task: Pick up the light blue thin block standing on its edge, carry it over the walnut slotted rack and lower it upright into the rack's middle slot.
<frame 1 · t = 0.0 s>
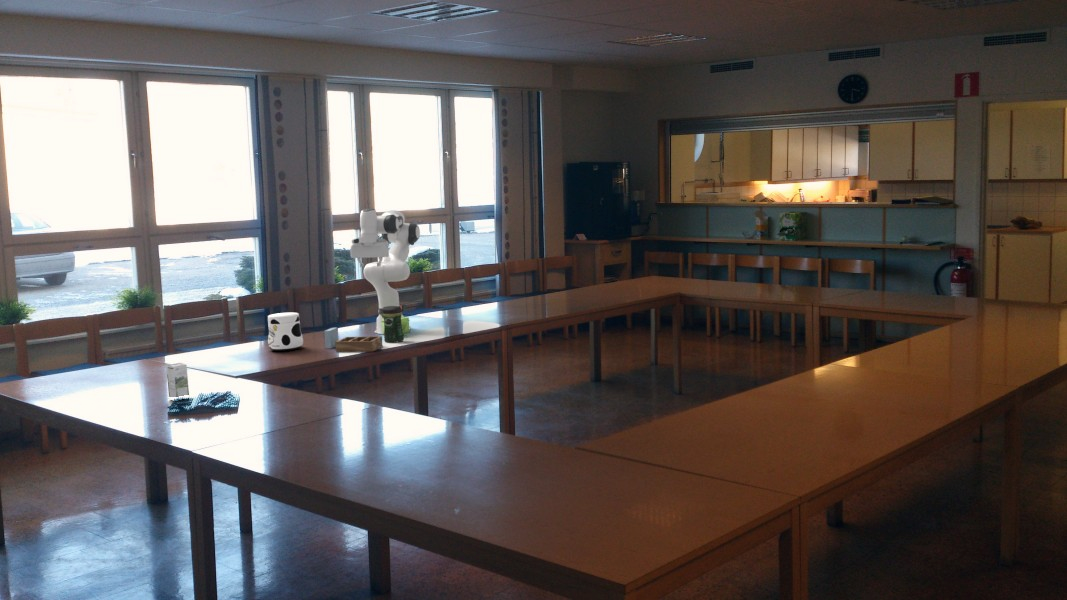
hand: (370, 266, 493), 39 cm above the table, tool pointing down, fingers open, 8 cm apart
syrup box: (179, 400, 380), on the table
coffee jar: (394, 341, 491), on the table
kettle: (395, 336, 508), on the table
milk container: (286, 350, 484), on the table
light blue thin block: (332, 346, 486), on the table
rack: (359, 349, 474), on the table
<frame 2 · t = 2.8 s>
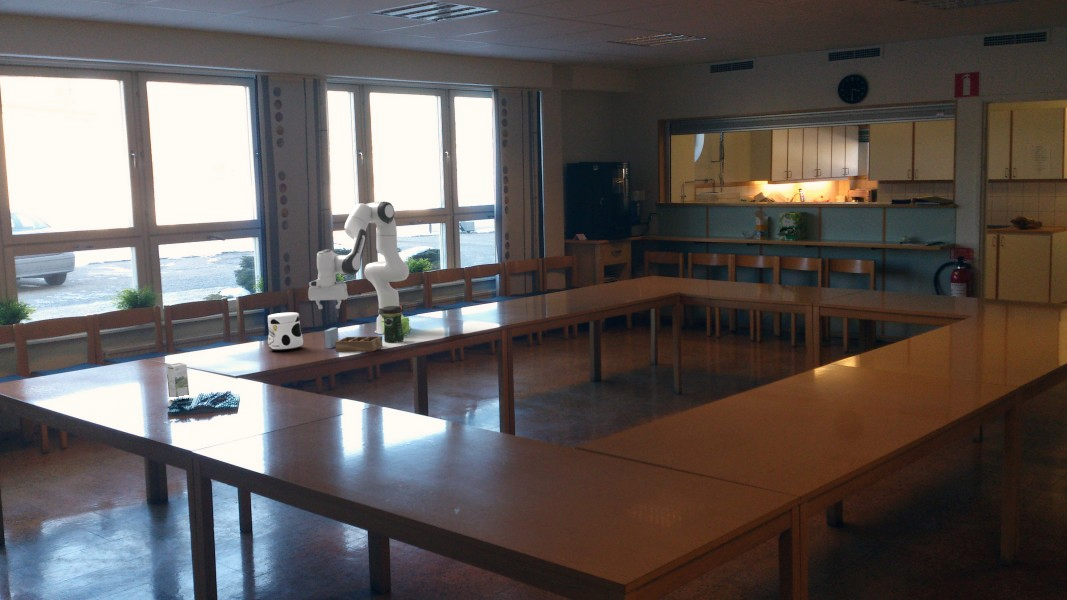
hand: (329, 308, 483), 19 cm above the table, tool pointing down, fingers open, 8 cm apart
nothing on the table moved.
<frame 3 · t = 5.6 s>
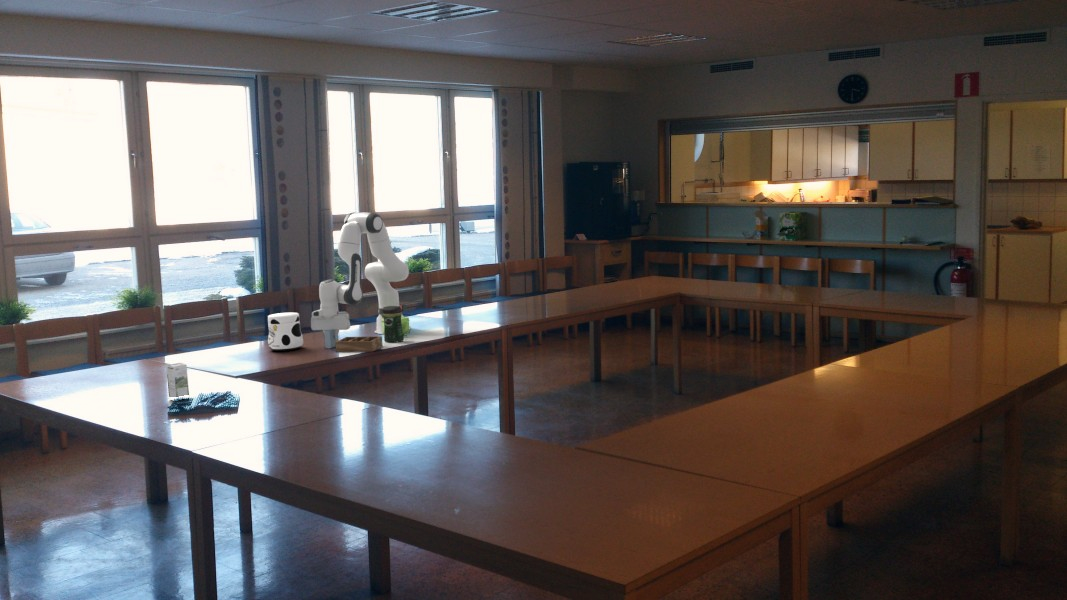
hand: (331, 338, 485), 4 cm above the table, tool pointing down, fingers closed on light blue thin block, 3 cm apart
light blue thin block: (332, 346, 486), on the table, touching gripper
everything else where it was.
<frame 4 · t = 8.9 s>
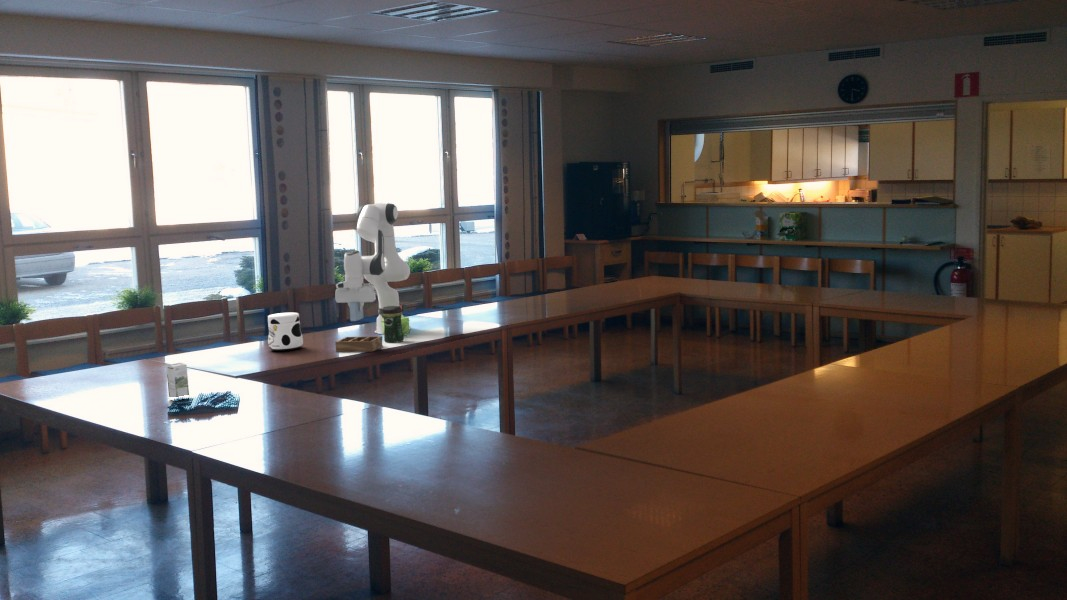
hand: (356, 311, 472), 19 cm above the table, tool pointing down, fingers closed on light blue thin block, 3 cm apart
light blue thin block: (357, 319, 472), point 15 cm above the table, touching gripper
everything else where it was.
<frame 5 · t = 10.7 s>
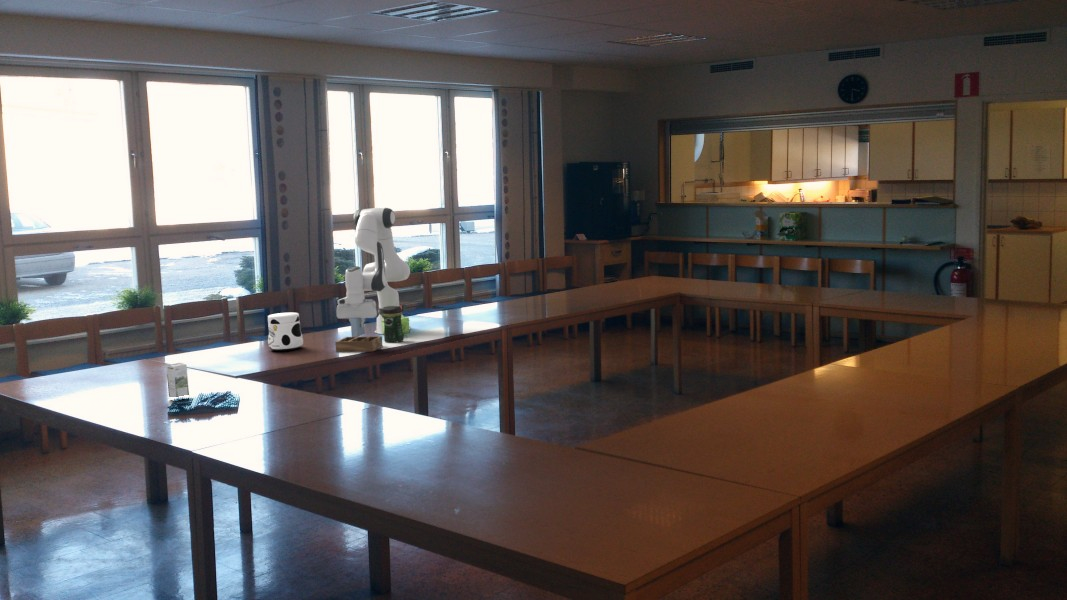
hand: (357, 327, 473), 11 cm above the table, tool pointing down, fingers closed on light blue thin block, 3 cm apart
light blue thin block: (358, 335, 473), point 7 cm above the table, touching gripper
everything else where it was.
when the fingers open (7 cm above the table, at t = 12.4 s): light blue thin block drops 1 cm, resting on rack.
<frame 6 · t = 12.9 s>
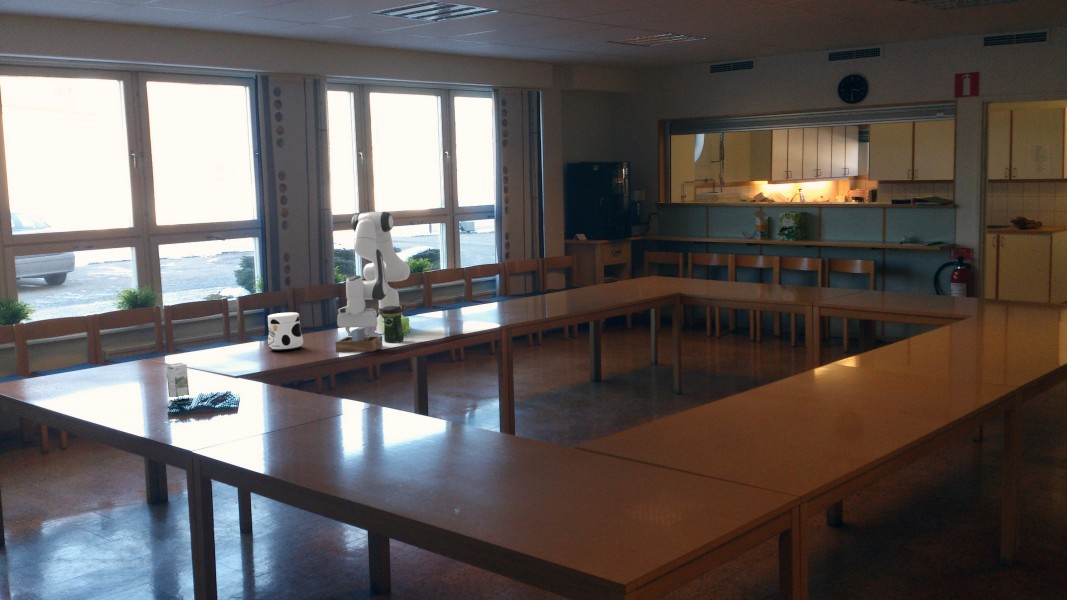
hand: (358, 336, 473), 7 cm above the table, tool pointing down, fingers open, 7 cm apart
light blue thin block: (359, 347, 474), point 1 cm above the table, touching rack
everything else where it was.
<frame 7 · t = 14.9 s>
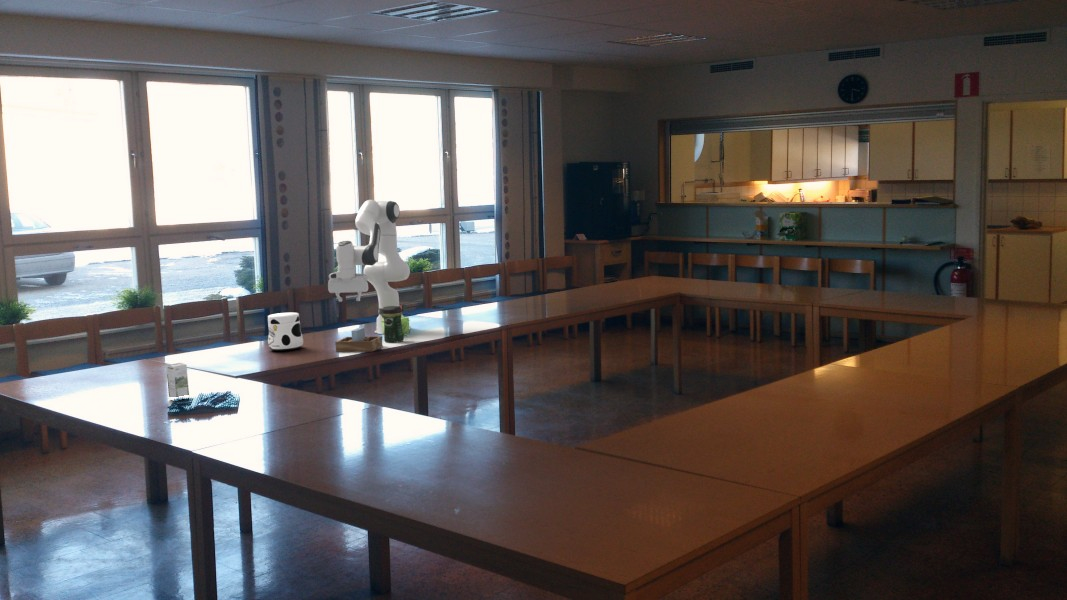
hand: (349, 301, 476), 24 cm above the table, tool pointing down, fingers open, 8 cm apart
nothing on the table moved.
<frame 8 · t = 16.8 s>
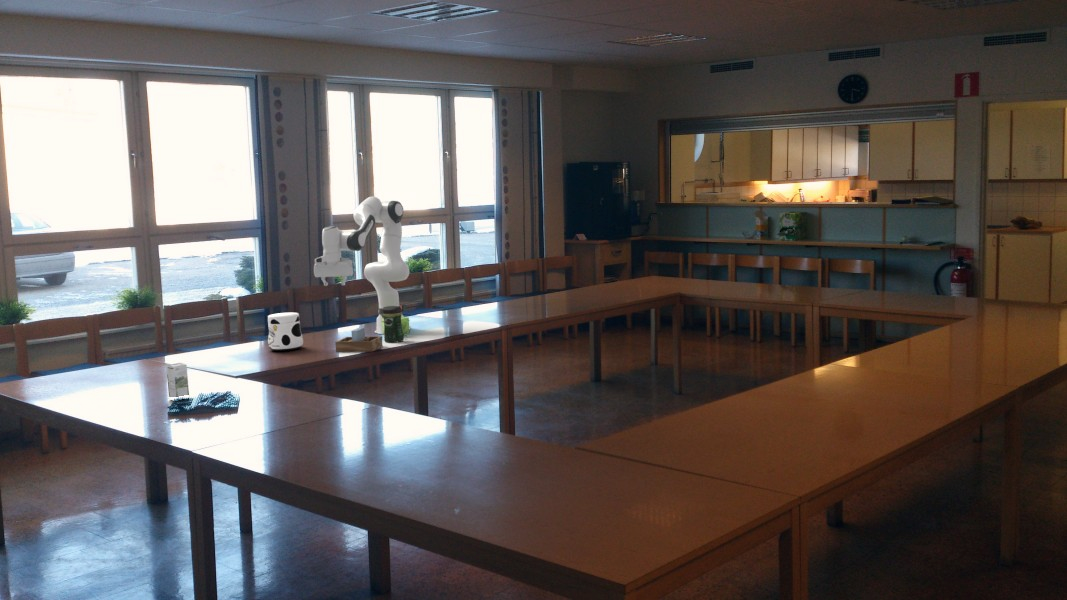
hand: (334, 285, 483), 31 cm above the table, tool pointing down, fingers open, 8 cm apart
nothing on the table moved.
at the end: light blue thin block inside the target area on the rack (0.0 cm from its centre), point 1.0 cm above the rack's base; light blue thin block tilted 0°; the gripper is holding nothing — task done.
